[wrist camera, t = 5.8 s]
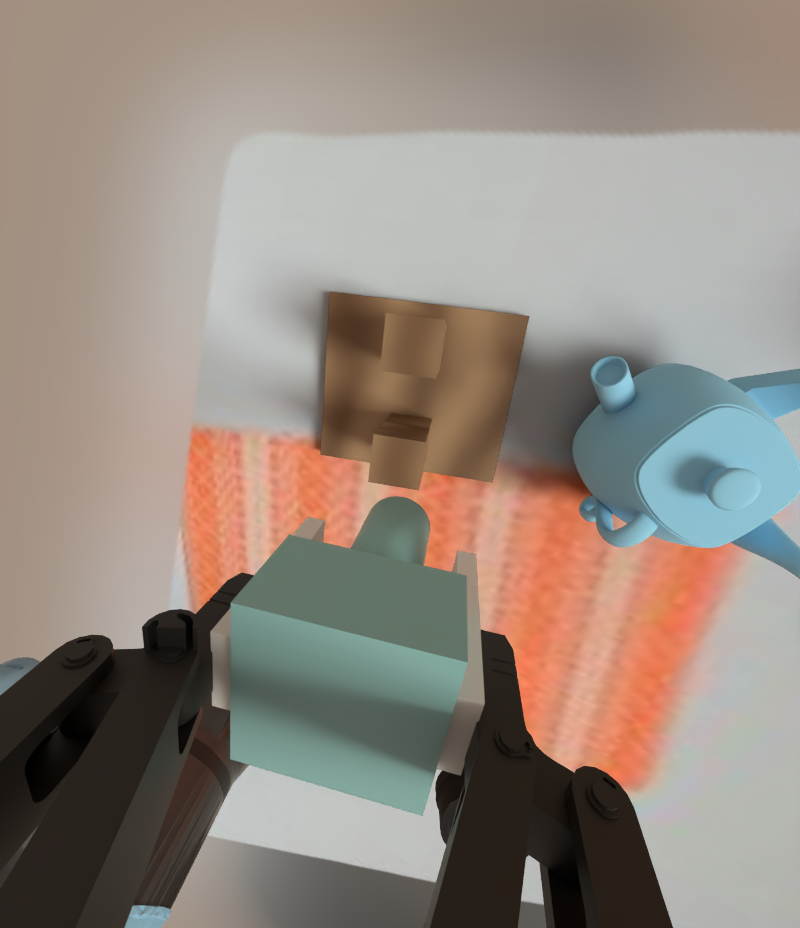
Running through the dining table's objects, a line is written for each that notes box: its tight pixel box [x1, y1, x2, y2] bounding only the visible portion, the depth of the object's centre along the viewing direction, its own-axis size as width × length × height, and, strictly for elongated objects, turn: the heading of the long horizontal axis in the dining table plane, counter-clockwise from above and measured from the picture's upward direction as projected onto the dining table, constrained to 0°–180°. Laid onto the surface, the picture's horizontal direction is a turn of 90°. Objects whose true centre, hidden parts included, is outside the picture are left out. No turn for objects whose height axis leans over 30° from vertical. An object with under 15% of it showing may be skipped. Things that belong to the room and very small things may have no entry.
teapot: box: [572, 356, 800, 579], centre depth 27 cm, size 15×14×11 cm
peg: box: [230, 497, 468, 816], centre depth 14 cm, size 6×6×10 cm
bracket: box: [320, 292, 529, 490], centre depth 29 cm, size 16×14×9 cm
